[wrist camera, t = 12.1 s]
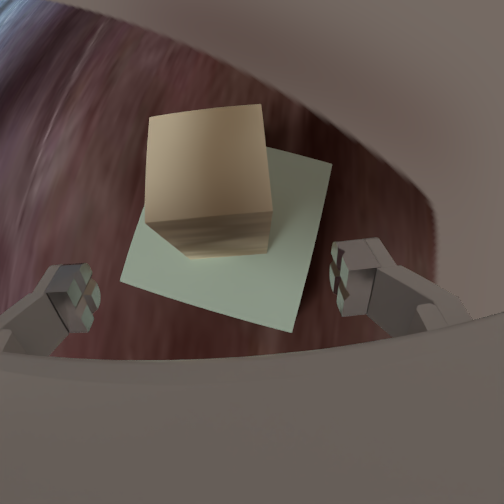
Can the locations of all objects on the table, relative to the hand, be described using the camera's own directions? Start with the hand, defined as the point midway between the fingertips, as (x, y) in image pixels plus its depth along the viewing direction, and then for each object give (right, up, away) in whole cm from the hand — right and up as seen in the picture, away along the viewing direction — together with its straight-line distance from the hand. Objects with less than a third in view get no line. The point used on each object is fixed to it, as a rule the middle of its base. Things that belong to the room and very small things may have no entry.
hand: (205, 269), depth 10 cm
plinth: (0, +2, +15) cm, 15 cm away
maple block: (0, +3, +11) cm, 12 cm away
